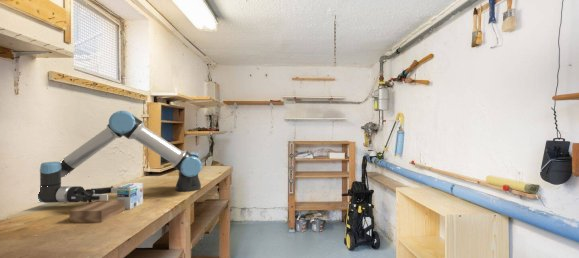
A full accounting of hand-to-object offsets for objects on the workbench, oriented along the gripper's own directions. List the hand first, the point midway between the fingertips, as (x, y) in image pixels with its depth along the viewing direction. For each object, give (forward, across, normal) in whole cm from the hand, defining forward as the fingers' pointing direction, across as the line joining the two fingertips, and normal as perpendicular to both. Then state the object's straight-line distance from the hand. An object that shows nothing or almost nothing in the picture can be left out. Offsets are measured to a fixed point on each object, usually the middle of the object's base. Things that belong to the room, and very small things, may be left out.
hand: (116, 193), depth 128 cm
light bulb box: (+7, 0, -7) cm, 9 cm away
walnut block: (+1, +14, -7) cm, 16 cm away
